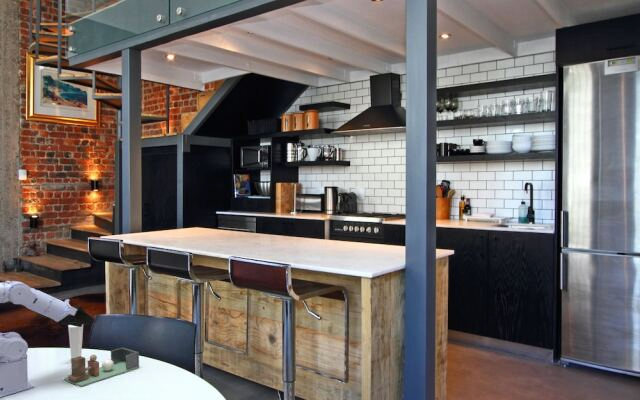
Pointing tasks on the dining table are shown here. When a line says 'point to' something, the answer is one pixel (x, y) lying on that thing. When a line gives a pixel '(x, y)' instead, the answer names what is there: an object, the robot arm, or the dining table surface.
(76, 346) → the perfume bottle
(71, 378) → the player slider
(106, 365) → the ball
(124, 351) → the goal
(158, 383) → the dining table surface
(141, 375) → the dining table surface
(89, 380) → the pitch mat
